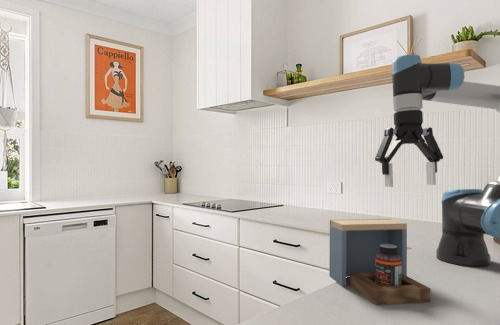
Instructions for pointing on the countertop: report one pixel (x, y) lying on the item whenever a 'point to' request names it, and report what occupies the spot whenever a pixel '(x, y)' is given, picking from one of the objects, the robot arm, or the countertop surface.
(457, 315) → the countertop surface
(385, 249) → the supplement bottle
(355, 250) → the blue open cabinet
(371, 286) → the socket
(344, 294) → the countertop surface
